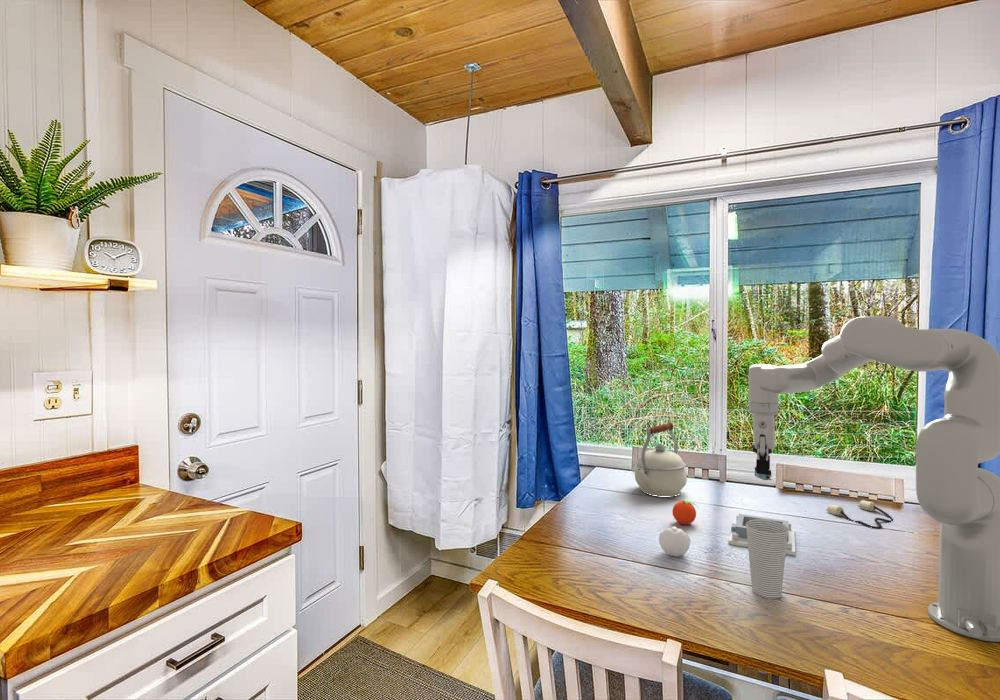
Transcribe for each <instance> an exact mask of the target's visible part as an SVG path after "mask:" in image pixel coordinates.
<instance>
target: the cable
mask: <svg viewBox="0 0 1000 700" xmlns="http://www.w3.org/2000/svg"><path fill="white" fill-rule="evenodd" d="M857 507H858V508H859V509H861V510H863V509H864V510H863V511H867V510H868V512H871V511H873V512H875V511H876V510H877V511H879V512H880V513H882V514H883V515H885V516H886V517H887V518H888V517H889V518H890V519H891V520H890V519H889V518H888V519H885V518H882V517H881V518H880V517H875V518H874V522H875V524H877V526H876V525H875V526H873V525H870V524H869V523H866V522H863V521H861V520H854V519H851V518H850V517H849V516H848V515H847V514H846V513H845V512H844V508H843V507H842V506H839V505H836V504H831V503H830V504H828V506H827V509H825V511H826V512H827V513H828V514H830V515H833V514H834V516H836V515H837V517H842V516H843V517H844V518H845V519H846V520H848V519H849V520H848V521H850V520H852V521H851V522H853V521H855V522H854V523H857V522H858V524H860V523H861V525H863V526H864V527H867V526H868V527H867V528H869V527H872V528H871V529H873V528H881V529H882V528H883V526H882V524H881V523H880V522H879V521H881V522H884V521H890V522H889V523H892V522H891V521H893V520H894V518H893V517H892V516H891V515H890V514H888V513H887V512H886V511H884V510H883V509H881V508H879V507H878V506H876V504H875V502H874V501H868V500H863V499H862V500H860V502H859V504H858V505H857Z"/></svg>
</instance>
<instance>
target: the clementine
mask: <svg viewBox="0 0 1000 700" xmlns="http://www.w3.org/2000/svg"><path fill="white" fill-rule="evenodd" d="M694 505H695V506H696V507H697V508H699V506H697V505H696V504H695V502H692V501H686V500H680V501H678V502H676V503H675V504H674V505H673V508H672V516H673V518H674V520H675V521H676V522H677V523H678V524H681V525H691V524H692V523H693V522H694V521H695V519H696V518H697V511H696V509H695V507H694Z"/></svg>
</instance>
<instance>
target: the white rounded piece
mask: <svg viewBox="0 0 1000 700" xmlns="http://www.w3.org/2000/svg"><path fill="white" fill-rule="evenodd" d="M658 542H659V546H660V548H661V549H662V551H663V552H664V553H665V554H667V555H668V556H671V557H676V558H678V557H682V556H684V555H686V554H687V552H688V551H689V549H690V545H691V538H690V535H689V534H688V533H686V532H685V530H683V529H682V528H678V527H677V526H674V525H673V526H671V527H668V528H665V529H663V531H661V532H660V533H659V535H658Z"/></svg>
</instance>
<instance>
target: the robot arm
mask: <svg viewBox="0 0 1000 700" xmlns="http://www.w3.org/2000/svg"><path fill="white" fill-rule="evenodd" d="M873 361H875V362H879V363H882V364H886V365H888V366H893V367H896V368H900V369H904V370H908V371H913V372H933V371H941V370H942V371H943V370H944V371H947V373H948V379H947V382H946V385H945V388H944V395H943V397H944V407H943V417H941V418H938V419H934V420H932V421H930V422H928V423H927V424H925V425H924V426H923V427H922V429H921V430H920V432H919V434H918V436H917V439H916V444H915V445H916V446H915V493H916V498H917V501H918V504H919V506H920V507H921V510H923V512H924V513H925V514H927V516H928V517H930V518H931V519H932V520H933V521H936V522H938V523H939V524H940V525H939V533H938V534H939V537H938V539H939V540H938V575H937V577H938V578H937V582H938V584H937V586H938V587H937V601H935V602H931V603H930V604H929V605H928V607H927V613H928V616H929V617H930V618H931V619H932V620H933V621H934V622H936V623H937V624H938V625H940V626H942V627H943V628H945V629H947V630H950V631H951V632H954V633H957V634H959V635H962V636H965V637H968V638H971V639H975V640H978V641H979V640H980V641H985V642H991V643H992V642H993V643H1000V477H999V475H996V474H995V473H994V472H992V471H989V470H986V469H984V468H981V467H979V465H980V464H981V463H985V462H989V461H991V460H993V459H996V458H997V457H998V456H999V455H1000V354H999V353H998V350H997V349H996V348H995V346H993V345H992V344H991V343H990V342H989V341H988V340H986V339H984V338H983V337H982V336H979V335H977V334H976V333H975V334H974V333H972V332H969V331H966V330H962V329H958V328H957V329H956V328H929V329H927V328H926V329H925V328H924V329H923V328H922V329H919V328H913V327H909V326H905V324H904V323H902V322H901V321H900V320H898V319H897V318H895V317H891V316H887V315H865V316H863V315H862V316H858V317H855V318H852V319H850V320H848V321H847V322H846V323H845V324H844V325H843V326H842V327H841V330H840V333H839V335H837V336H835V337H833V338H831V339H829V340H827V341H825V342H824V343H823V344H822V347H821V355H819V356H817V357H815V358H813V359H812V360H809V361H806V362H804V363H802V364H788V365H779V366H777V365H775V364H763V363H762V364H761V363H760V364H752V365H749V366H750V367H749V368H748V413H749V414H752V417H753V418H752V423H753V424H752V427H753V429H752V430H753V445H755V448H756V449H757V454H756V463H755V465H756V466H755V467H756V473H757V474H765V475H769V470H771V456H770V455H771V454H769V455H768V451H769V450H768V448H769V449H771V450H772V452H773V451H774V450H775V447H776V446H775V439H776V438H775V436H776V435H775V433H776V432H775V431H776V429H775V428H776V427H775V426H776V425H775V423H776V422H775V416H777V415H779V394H780V395H785V394H786V395H787V394H796V393H807V392H810V391H813V390H816V389H818V388H821V387H824V386H825V385H828V384H830V383H832V382H835V381H837V380H838V379H840V378H842V376H845V374H846V373H848V372H849V371H852V370H854V369H856V368H858V367H860V366H861V367H862V366H863V365H865V364H868V363H871V362H873ZM759 447H760V448H759ZM765 447H767V449H765ZM765 451H766V452H765Z"/></svg>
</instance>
